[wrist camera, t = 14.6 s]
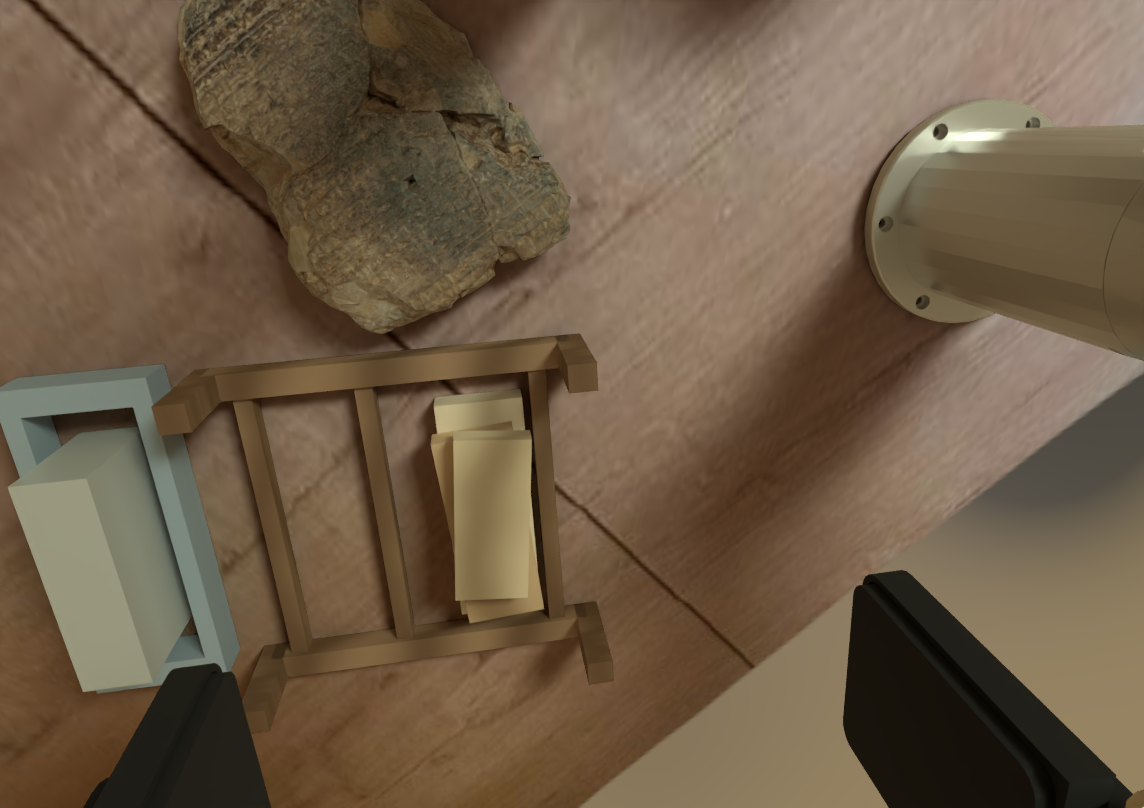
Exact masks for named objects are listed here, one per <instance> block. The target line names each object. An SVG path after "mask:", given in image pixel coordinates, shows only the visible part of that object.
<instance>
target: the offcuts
mask: <svg viewBox="0 0 1144 808" xmlns="http://www.w3.org/2000/svg"><path fill="white" fill-rule="evenodd" d="M434 413H435V420H436V427H437V434H433V435H432V438H431V449H432V453H433V458H434V462H435V467H436V472H437V476H438V481H439V485H440V490H441V494H442V499H443V503H444V508H445V513H446V517H447V522H448V526H449V531H450V535H451V540H452V545H453V552H454V560H455V601H460V604H461V611H462V615H463V614H468V618H469V622H470V623H474V622H480V621H485V620H490V619H495V618H500V617H505V616H511V615H516V614H521V613H526V612H531V611H536V610H541V609H544V605H543V599H542V593H541V587H540V582H539V576H538V567H537V556H536V545H535V534H534V523H533V512H532V501H531V456H532V438H531V433H530V430H525V425H524V414H523V403H522V395H521V390H520V389H512V390H502V391H493V392H483V393H473V394H463V395H453V396H443V397H435V400H434Z"/></svg>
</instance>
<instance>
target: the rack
mask: <svg viewBox="0 0 1144 808" xmlns="http://www.w3.org/2000/svg"><path fill="white" fill-rule="evenodd" d="M555 368H559V369H560V372H561V374H562V377H563V379H564V381H565V384H566V386H567V389H568V391H569V393H578V392H588V391H598V376H597V362H596V360H595V359H594V357H593V355H592V353H591V352H590V350H589V348H588V347H587V345H586V343H585V342H584V340H583V338H582V336H581V335H580V334H570V335H559V336H548V337H538V338H527V339H517V340H506V341H496V342H485V343H475V344H464V345H454V346H443V347H433V348H422V349H412V350H401V351H391V352H380V353H370V354H359V355H348V356H338V357H327V358H317V359H306V360H296V361H285V362H275V363H264V364H254V365H243V366H233V367H222V368H212V369H201V370H195V371H193V372H192V373H191V374H190V375H189V376H187V377H186V378H185V379H184V380H183V381H181V382H180V383H179V384H178V385H177V386H175V387H174V388H173V389H172V390H171V391H169V392H168V393H167V394H166V395H165V396H163V397H162V398H161V399H160V400H159V401H158V402H156V403H155V404H154V405H153V406H152V407H151V408H152V411H153V415H154V419H155V422H156V426H157V429H158V433H159V436H163V435H172V434H182V433H192V432H193V431H194V430H195V429H196V427H197V426H198V425H199V424H200V423H201V422H202V421H203V420H204V419H205V418H206V417H207V416H208V415H209V414H210V413H211V412H212V411H213V410H214V408H215V407H216V406H217V405H218V404H219V403H220V402H223V401H233V405H234V409H235V413H236V417H237V422H238V426H239V430H240V434H241V439H242V443H243V447H244V451H245V455H246V460H247V464H248V468H249V472H250V477H251V481H252V485H253V489H254V494H255V498H256V502H257V506H258V510H259V515H260V519H261V523H262V527H263V532H264V536H265V540H266V544H267V548H268V553H269V557H270V561H271V565H272V570H273V574H274V578H275V582H276V587H277V591H278V595H279V599H280V603H281V608H282V612H283V616H284V620H285V625H286V629H287V633H288V637H289V643H282V644H274V645H267V646H264V648H263V651H262V653H261V656H260V658H259V660H258V663H257V665H256V668H255V670H254V673H253V675H252V678H251V680H250V683H249V685H248V688H247V690H246V693H245V695H244V698H243V700H242V703H243V707H244V710H245V714H246V718H247V721H248V725H249V729H250V732H251V734H254V733H261V732H268V731H270V729H271V726H272V723H273V720H274V717H275V714H276V711H277V708H278V705H279V702H280V699H281V696H282V693H283V690H284V687H285V684H286V681H287V678H288V677H295V676H302V675H309V674H317V673H324V672H331V671H338V670H345V669H353V668H360V667H367V666H374V665H382V664H389V663H396V662H403V661H410V660H418V659H425V658H432V657H439V656H447V655H454V654H461V653H468V652H475V651H483V650H490V649H497V648H504V647H511V646H519V645H526V644H533V643H540V642H548V641H555V640H562V639H569V638H576V637H578V638H579V642H580V647H581V651H582V656H583V660H584V665H585V669H586V674H587V678H588V683H589V685H591V684H598V683H604V682H611V681H614V679H613V661H612V657H611V653H610V650H609V646H608V643H607V639H606V636H605V632H604V628H603V625H602V621H601V618H600V614H599V610H598V607H597V603H596V602H588V603H581V604H574V605H566V606H564V598H563V586H562V573H561V560H560V547H559V534H558V522H557V509H556V496H555V483H554V471H553V458H552V445H551V432H550V420H549V407H548V394H547V381H546V369H555ZM524 371H527V376H528V387H529V399H530V410H531V421H532V433H533V444H534V456H535V467H536V479H537V490H538V501H539V513H540V524H541V536H542V547H543V559H544V570H545V581H546V593H547V604H548V608H544V609H541V610H536V611H531V612H526V613H521V614H516V615H511V616H505V617H500V618H495V619H490V620H485V621H480V622H474V623H470V622H469V619H461V620H454V621H446V622H439V623H431V624H424V625H417V626H415V624H414V618H413V612H412V606H411V600H410V594H409V588H408V582H407V575H406V569H405V563H404V557H403V551H402V545H401V539H400V533H399V527H398V520H397V514H396V508H395V502H394V496H393V490H392V484H391V478H390V472H389V465H388V459H387V453H386V447H385V441H384V435H383V429H382V423H381V417H380V410H379V404H378V398H377V392H376V386H384V385H394V384H404V383H414V382H424V381H434V380H444V379H454V378H464V377H474V376H484V375H494V374H504V373H514V372H524ZM344 389H354V393H355V399H356V405H357V410H358V416H359V422H360V427H361V433H362V439H363V445H364V450H365V456H366V462H367V467H368V473H369V479H370V485H371V490H372V496H373V502H374V508H375V513H376V519H377V525H378V530H379V536H380V542H381V548H382V553H383V559H384V565H385V570H386V576H387V582H388V588H389V593H390V599H391V605H392V611H393V616H394V622H395V628H394V629H387V630H379V631H372V632H364V633H357V634H349V635H342V636H334V637H327V638H319V639H312V635H311V630H310V626H309V621H308V617H307V612H306V608H305V603H304V599H303V594H302V590H301V585H300V581H299V576H298V572H297V567H296V563H295V558H294V554H293V550H292V545H291V541H290V536H289V532H288V527H287V523H286V518H285V514H284V509H283V505H282V500H281V496H280V491H279V487H278V482H277V478H276V473H275V469H274V464H273V460H272V455H271V451H270V446H269V442H268V437H267V433H266V429H265V424H264V420H263V415H262V411H261V406H260V402H259V398H263V397H274V396H284V395H294V394H304V393H314V392H324V391H334V390H344Z"/></svg>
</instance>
